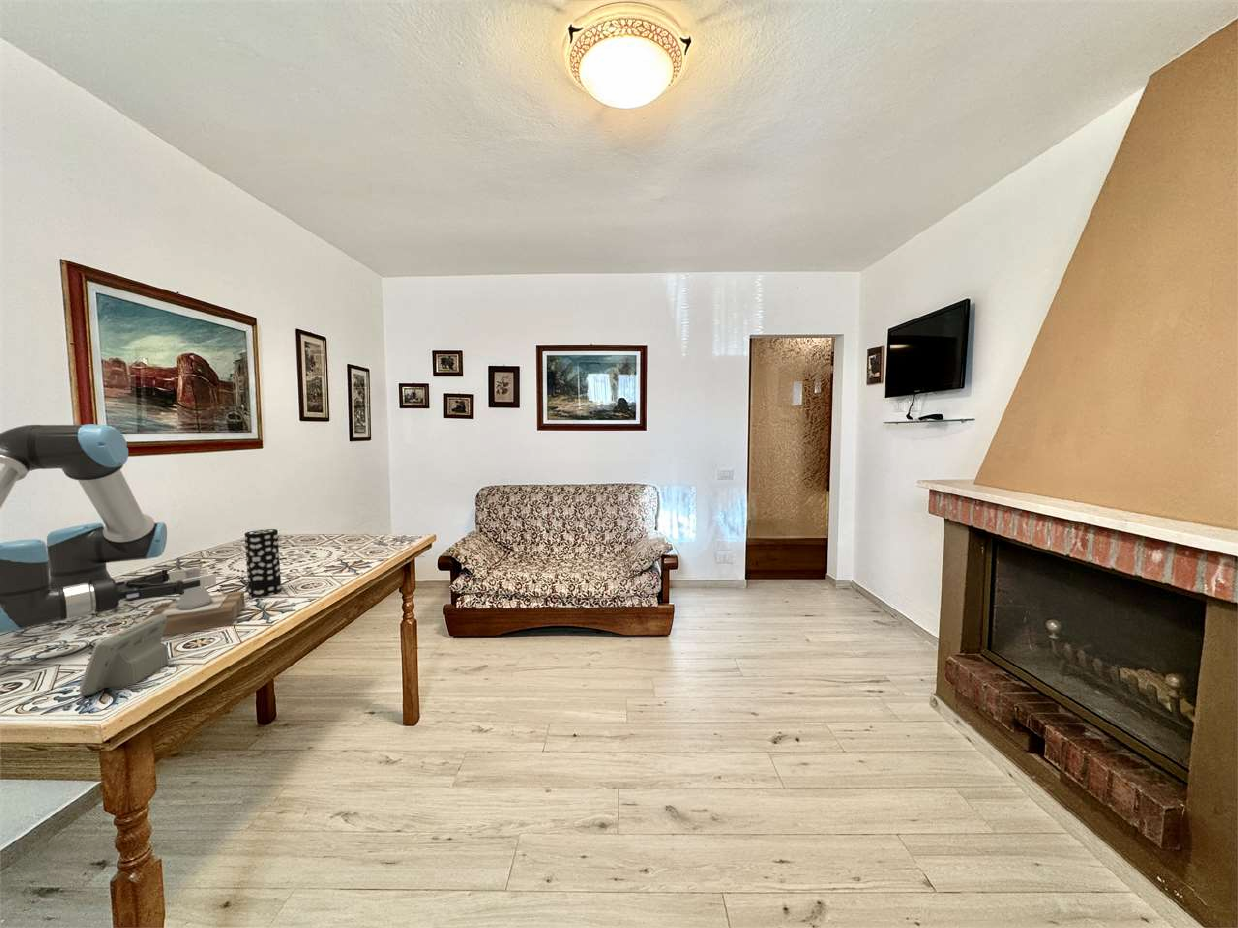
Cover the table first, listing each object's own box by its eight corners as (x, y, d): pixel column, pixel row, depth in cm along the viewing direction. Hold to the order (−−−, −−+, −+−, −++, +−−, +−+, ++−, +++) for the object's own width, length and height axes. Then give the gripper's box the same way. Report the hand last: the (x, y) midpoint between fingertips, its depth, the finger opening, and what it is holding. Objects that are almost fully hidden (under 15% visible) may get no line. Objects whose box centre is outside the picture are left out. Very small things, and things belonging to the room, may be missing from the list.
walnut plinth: (162, 617, 129) (161, 601, 129) (244, 604, 138) (243, 589, 138) (138, 641, 113) (136, 623, 113) (232, 624, 123) (230, 608, 122)
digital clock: (150, 657, 105) (146, 612, 104) (188, 657, 104) (185, 611, 104) (62, 698, 88) (57, 645, 88) (107, 698, 88) (102, 644, 88)
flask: (189, 611, 121) (186, 573, 120) (169, 609, 123) (166, 572, 122) (219, 601, 128) (216, 566, 127) (200, 599, 130) (197, 564, 129)
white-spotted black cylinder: (274, 587, 154) (270, 528, 152) (286, 591, 149) (282, 530, 148) (244, 594, 146) (239, 533, 145) (255, 599, 142) (251, 535, 141)
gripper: (85, 603, 117) (195, 580, 135) (102, 624, 103) (223, 596, 121) (82, 574, 117) (193, 555, 134) (99, 591, 103) (221, 568, 120)
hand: (207, 574), depth 127 cm, fingers open, 13 cm apart
